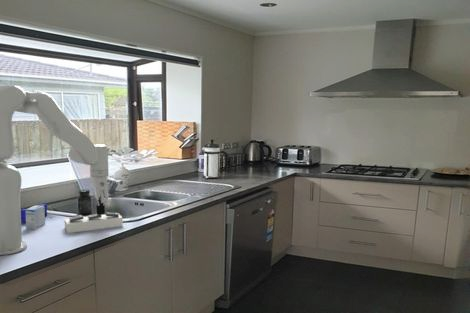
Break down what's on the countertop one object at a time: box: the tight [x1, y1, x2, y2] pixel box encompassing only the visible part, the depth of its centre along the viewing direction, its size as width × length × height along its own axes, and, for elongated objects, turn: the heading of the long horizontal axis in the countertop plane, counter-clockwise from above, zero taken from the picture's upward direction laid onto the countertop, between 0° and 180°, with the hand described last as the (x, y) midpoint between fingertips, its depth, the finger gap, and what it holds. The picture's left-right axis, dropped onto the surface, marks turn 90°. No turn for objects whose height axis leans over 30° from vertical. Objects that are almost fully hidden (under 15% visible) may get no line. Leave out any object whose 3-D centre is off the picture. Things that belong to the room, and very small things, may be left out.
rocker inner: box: [68, 215, 84, 222], centre depth 168 cm, size 5×3×1 cm, turn 120°
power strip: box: [64, 214, 123, 234], centre depth 174 cm, size 23×8×4 cm, turn 120°
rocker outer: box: [104, 211, 120, 217], centre depth 176 cm, size 5×3×1 cm, turn 120°
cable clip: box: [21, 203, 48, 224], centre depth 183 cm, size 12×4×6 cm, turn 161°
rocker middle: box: [87, 213, 102, 220], centre depth 172 cm, size 5×3×1 cm, turn 120°
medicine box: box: [25, 204, 46, 230], centre depth 172 cm, size 8×4×9 cm, turn 178°
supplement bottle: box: [76, 188, 93, 217], centre depth 193 cm, size 7×7×12 cm
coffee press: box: [201, 139, 229, 180], centre depth 301 cm, size 17×16×30 cm
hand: (100, 213), depth 173 cm, fingers closed
